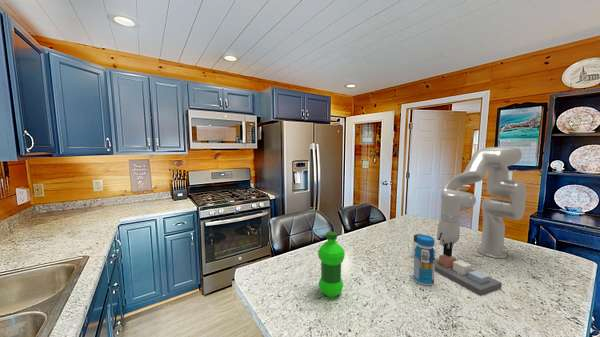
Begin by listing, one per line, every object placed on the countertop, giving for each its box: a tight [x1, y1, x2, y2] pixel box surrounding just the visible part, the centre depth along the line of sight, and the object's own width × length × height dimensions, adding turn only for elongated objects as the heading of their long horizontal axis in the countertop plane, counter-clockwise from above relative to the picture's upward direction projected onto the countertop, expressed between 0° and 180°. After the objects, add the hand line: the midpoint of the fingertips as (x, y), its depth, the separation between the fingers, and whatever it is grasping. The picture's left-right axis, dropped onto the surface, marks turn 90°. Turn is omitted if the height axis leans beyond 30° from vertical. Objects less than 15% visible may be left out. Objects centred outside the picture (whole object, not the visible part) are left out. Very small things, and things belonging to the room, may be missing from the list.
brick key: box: [438, 253, 457, 269], centre depth 112 cm, size 5×5×4 cm
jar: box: [411, 233, 423, 259], centre depth 123 cm, size 9×8×12 cm
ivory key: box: [453, 259, 472, 276], centre depth 105 cm, size 5×5×4 cm
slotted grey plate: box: [434, 259, 503, 296], centre depth 106 cm, size 14×24×2 cm, turn 21°
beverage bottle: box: [412, 234, 437, 286], centre depth 102 cm, size 8×8×20 cm
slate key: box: [468, 270, 490, 285], centre depth 99 cm, size 5×5×4 cm
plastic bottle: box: [317, 231, 346, 298], centre depth 93 cm, size 10×10×25 cm
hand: (447, 255), depth 112 cm, fingers closed
